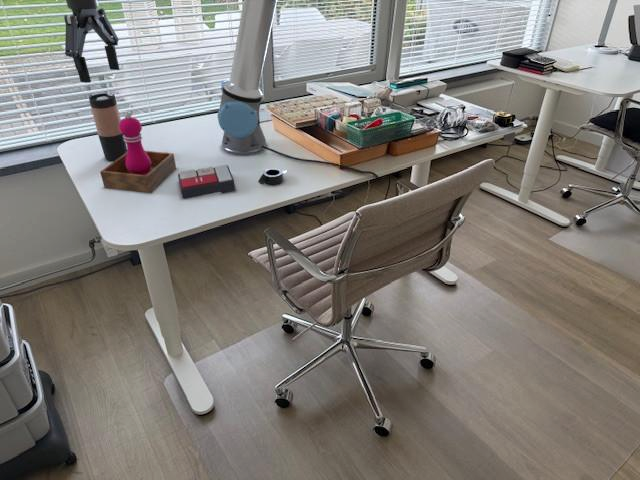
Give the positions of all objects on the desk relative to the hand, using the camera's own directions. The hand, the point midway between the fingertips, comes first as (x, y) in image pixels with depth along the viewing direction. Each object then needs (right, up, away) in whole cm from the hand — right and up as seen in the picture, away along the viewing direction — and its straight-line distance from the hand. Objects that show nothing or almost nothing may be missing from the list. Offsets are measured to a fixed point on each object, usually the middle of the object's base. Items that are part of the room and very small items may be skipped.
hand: (101, 75), depth 131 cm
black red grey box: (+29, -31, +5) cm, 43 cm away
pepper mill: (+8, -28, +9) cm, 30 cm away
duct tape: (+48, -29, +9) cm, 57 cm away
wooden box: (+8, -28, +9) cm, 31 cm away
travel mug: (-5, -20, +21) cm, 29 cm away
